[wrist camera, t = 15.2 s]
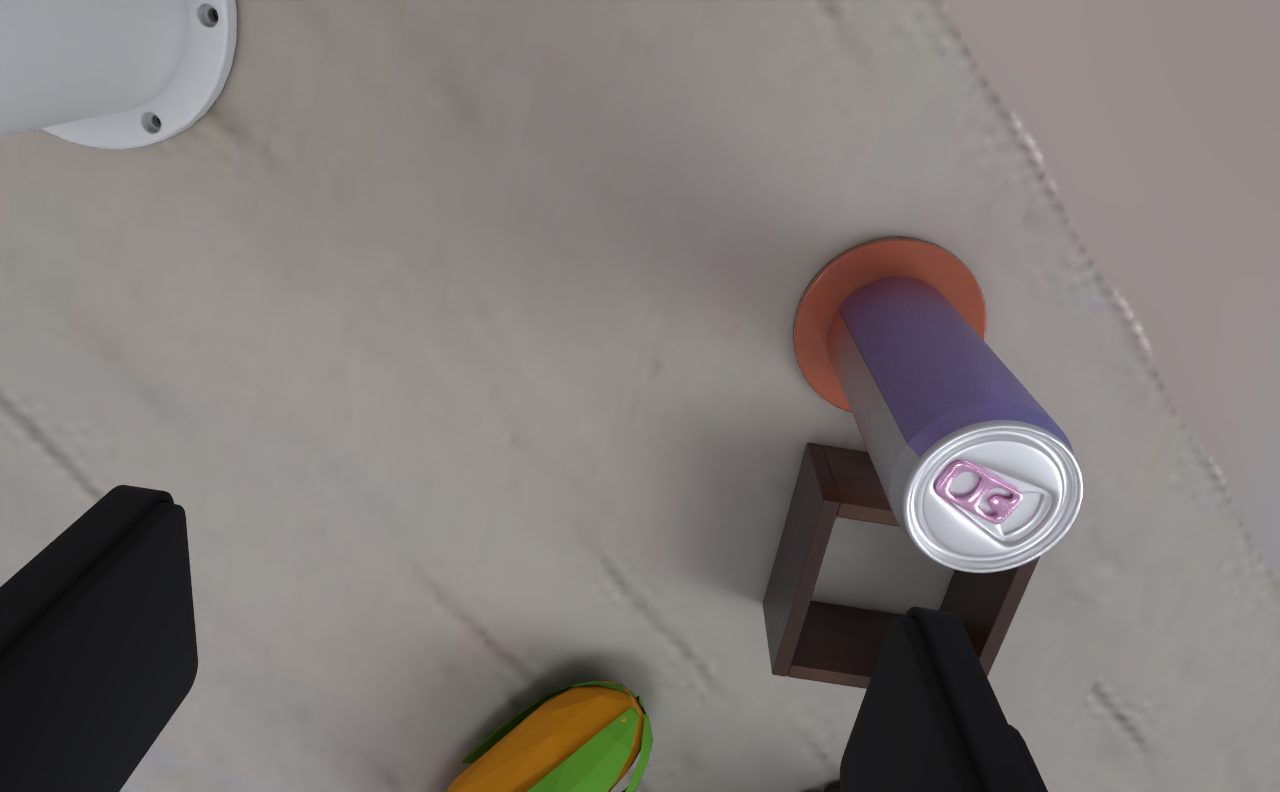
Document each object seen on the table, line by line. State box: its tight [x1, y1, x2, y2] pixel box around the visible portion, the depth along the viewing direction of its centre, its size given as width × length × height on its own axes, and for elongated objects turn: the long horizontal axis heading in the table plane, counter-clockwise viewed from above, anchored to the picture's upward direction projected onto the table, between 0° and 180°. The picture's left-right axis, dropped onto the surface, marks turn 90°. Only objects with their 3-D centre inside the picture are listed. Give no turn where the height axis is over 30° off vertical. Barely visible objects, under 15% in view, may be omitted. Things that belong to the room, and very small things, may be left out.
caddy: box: [763, 443, 1040, 689], centre depth 44 cm, size 11×11×6 cm
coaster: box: [793, 238, 986, 413], centre depth 41 cm, size 9×9×1 cm
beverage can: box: [828, 277, 1083, 573], centre depth 34 cm, size 6×6×15 cm
